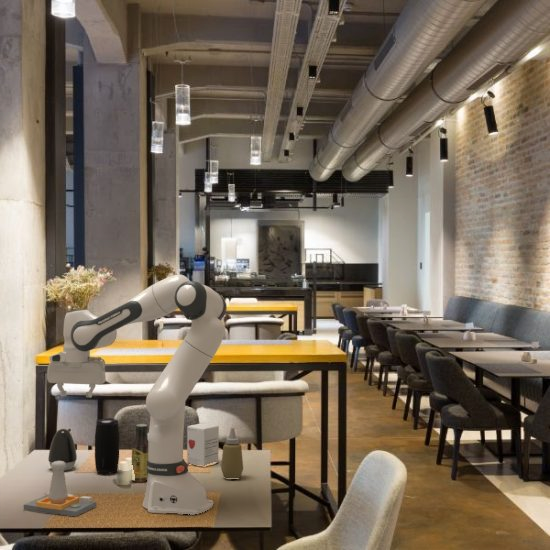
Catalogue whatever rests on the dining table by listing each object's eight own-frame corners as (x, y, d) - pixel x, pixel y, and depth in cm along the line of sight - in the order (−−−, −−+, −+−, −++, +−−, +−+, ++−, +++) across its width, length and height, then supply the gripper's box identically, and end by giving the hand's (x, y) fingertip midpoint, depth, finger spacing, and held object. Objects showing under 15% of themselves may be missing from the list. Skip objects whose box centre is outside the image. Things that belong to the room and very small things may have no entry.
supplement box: (186, 464, 294) (186, 425, 294) (201, 460, 301) (201, 422, 301) (203, 468, 289) (204, 428, 289) (219, 463, 296) (219, 425, 296)
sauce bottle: (127, 480, 271) (128, 424, 271) (143, 477, 275) (143, 422, 275) (137, 484, 266) (137, 427, 266) (152, 481, 270) (153, 425, 270)
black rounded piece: (81, 467, 289) (82, 427, 289) (67, 473, 279) (68, 432, 279) (57, 465, 292) (58, 425, 292) (43, 471, 281) (43, 430, 282)
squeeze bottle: (216, 478, 275) (216, 428, 275) (233, 474, 280) (234, 425, 280) (230, 482, 269) (230, 431, 269) (247, 478, 274) (248, 428, 274)
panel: (96, 506, 239) (96, 497, 239) (75, 517, 229) (75, 507, 229) (46, 500, 246) (46, 490, 246) (23, 510, 235) (23, 500, 235)
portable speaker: (104, 468, 287) (105, 416, 287) (124, 471, 282) (124, 419, 283) (89, 473, 279) (89, 420, 279) (108, 477, 275) (109, 422, 275)
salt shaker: (61, 507, 233) (61, 464, 233) (44, 505, 234) (45, 463, 234) (71, 501, 238) (71, 460, 238) (54, 500, 240) (55, 458, 240)
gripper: (108, 356, 262) (108, 396, 262) (53, 354, 266) (53, 394, 266) (101, 358, 256) (101, 399, 256) (44, 356, 260) (44, 397, 260)
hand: (76, 396), depth 261 cm, fingers open, 8 cm apart
